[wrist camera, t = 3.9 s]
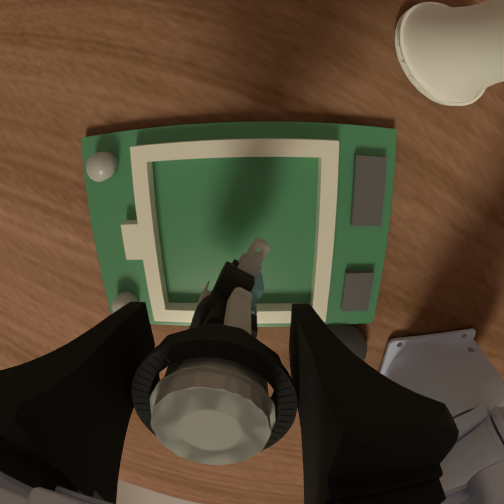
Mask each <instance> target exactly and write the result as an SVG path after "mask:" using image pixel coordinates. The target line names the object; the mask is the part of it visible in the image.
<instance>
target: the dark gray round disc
mask: <svg viewBox="0 0 504 504" xmlns="http://www.w3.org/2000/svg"><path fill="white" fill-rule="evenodd" d="M327 326H328V327H329V328H330V330H331V331H332V332H333V333H334V334H335V335H336V336H337V337H338V338H339V339H340V340H341V341H342V342H343V344H345V345H346V346H347V347H348V348H349V349H350V350H351V351H352V352H353V353H354V354H355V355H356V356H358V357H359V358H360V359H362V360H363V361H364V359H365V357H366V353H367V345H366V342H365V339H364V337H363V335H362V333H361V331H360V330H359V329H358V328H357V327H356V326H355V325H353V324H343V325H327Z"/></svg>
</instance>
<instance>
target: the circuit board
mask: <svg viewBox="0 0 504 504" xmlns="http://www.w3.org/2000/svg"><path fill="white" fill-rule="evenodd" d="M396 133H397V129H391V128H382V127H372V126H361V125H349V124H334V123H315V122H270V121H267V122H222V123H202V124H187V125H175V126H164V127H154V128H145V129H137V130H129V131H121V132H114V133H108V134H101V135H95V136H89V137H84V138H81V143H82V155H83V165H84V175H85V183H86V191H87V198H88V205H89V212H90V218H91V224H92V230H93V235H94V241H95V246H96V251H97V256H98V261H99V265H100V270H101V274H102V279H103V283H104V287H105V291H106V295H107V299H108V303H109V307H110V311H111V314H113V313H114V312H115V311H117V310H118V309H120V308H121V307H123V306H124V305H126V304H127V303H129V302H131V301H133V302H146V307H147V311H148V316H149V321H150V324H161V325H185V326H190V325H191V322H192V318H193V316H194V313H195V310H196V308H197V303H198V301H199V298H200V295H201V293H202V292H203V290H204V288H205V286H206V284H207V282H208V281H210V282H209V285H208V288H207V290H208V291H210V292H211V291H212V290H213V288H214V285H215V283H216V281H217V279H218V276H219V274H220V272H221V270H222V268H223V266H224V264H225V263H226V261H228V262H230V263H232V262H233V260H234V259H236V260H238V261H239V259H240V257H241V256H242V254H243V253H245V254H246V253H247V251H248V249H249V248H250V246H251V244H252V242H253V241H254V239H255V237H259V238H261V239H263V240H265V241H267V242H268V244H269V245H268V246H269V248H270V250H269V252H268V253H267V255H266V257H265V258H264V260H263V262H262V264H261V265H260V267H262V270H261V271H260V273H262V276H263V284H264V291H263V294H262V295H261V297H260V299H259V300H258V301H257V302H256V304H255V305H257V316H258V317H257V327H280V326H290V325H291V308H292V304H298V303H309V304H310V305H311V306H312V307H313V309H314V310H315V311H316V313H317V314H318V315H319V316H320V318H321V319H322V320H323V321H324V323H325V324H326V325H343V324H361V323H373V318H374V313H375V309H376V304H377V298H378V293H379V288H380V282H381V277H382V271H383V265H384V259H385V252H386V245H387V238H388V230H389V223H390V214H391V205H392V195H393V184H394V171H395V155H396ZM255 251H257V252H259V251H261V249H256V250H255Z"/></svg>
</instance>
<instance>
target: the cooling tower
mask: <svg viewBox="0 0 504 504" xmlns="http://www.w3.org/2000/svg"><path fill="white" fill-rule="evenodd" d="M437 5H438V6H437ZM394 40H395V49H396V54H397V57H398V60H399V63H400V65H401V67H402V69H403V71H404V73H405V74H406V76H407V77H408V79H409V80H410V82H411V83H412V84H413V85H414V86H415V87H416V88H417V89H418V90H419V91H420V92H421V93H422V94H423V95H425V96H426V97H427V98H429V99H431V100H433V101H435V102H437V103H439V104H443V105H448V106H464V105H468V104H471V103H473V102H475V101H476V100H478V99H479V98H480V97H481V95H482V94H483V93H484V91H485V89H486V88H487V87H489V86H491V85H493V84H495V83H498V82H502V81H504V0H489V1H486V2H483V3H480V4H476V5H472V6H465V7H449V6H447V5H445V4H441V3H437V2H423V3H419V4H417V5H415V6H413V7H412V8H410V9H409V10H407V11H406V12H405V13H404V14H403V15H402V16H401V17H400V19H399V21H398V23H397V25H396V29H395V36H394Z"/></svg>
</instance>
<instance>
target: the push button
mask: <svg viewBox="0 0 504 504" xmlns="http://www.w3.org/2000/svg"><path fill="white" fill-rule="evenodd" d="M268 245H269V244H268V242H267V241H265V240H263V239H261V238H259V237H255V239H254V241H253V242H252V244H251V246H250V248H249V249H248V251H247V253H246V254H245V253H243V254H242V256H241V257H240V259H239V261H238V260H236V259H234V260H233V262H232V263H230V262H228V261H226V263H225V264H224V266H223V268H222V270H221V272H220V274H219V276H218V279H217V281H216V283H215V285H214V288H213V290H212V291H211V292H210V291H208V290H207V288H208V285H209V282H210V281H208V282H207V284H206V286H205V288H204V290H203V292H202V293H201V295H200V298H199V301H198V303H197V308H196V310H195V313H194V316H193V318H192V322H191V325H190V328H189V329H188V330H185V331H181V332H177V333H174V334H170V335H168V336H167V337H166V338H165V339H164V340H163V341H162V342H161V343H160V345H159V346H157V347H155V348H154V349H153V350H152V351H150V352H149V353H148V354H147V355H146V356H145V357H144V359H143V360H142V362H141V363H140V365H139V367H138V369H137V371H136V373H135V375H134V378H133V381H132V387H131V394H132V401H133V404H134V407H135V410H136V412H137V414H138V416H139V418H140V419H141V420H142V422H143V423H144V424H145V426H146V427H147V428H148V429H149V430H150V431H151V432H152V433H153V434H154V435H156V436H157V438H158V440H159V441H160V442H161V443H162V444H163V445H164V446H165V447H166V448H168V449H170V450H171V451H172V452H173V453H175V454H176V455H178V456H181V457H183V458H185V459H187V460H191V461H194V462H197V463H203V464H211V465H227V464H232V463H237V462H243V461H246V460H247V459H249V458H250V457H252V456H254V455H255V454H257V453H258V452H260V451H262V450H264V449H266V448H268V447H270V446H272V445H273V444H275V443H276V442H277V441H279V440H280V439H281V438H282V437H283V436H284V435H285V434H286V433H287V432H288V430H289V429H290V427H291V426H292V424H293V422H294V419H295V417H296V412H297V395H296V390H295V386H294V383H293V381H292V378H291V376H290V375H289V373H288V371H287V370H286V369H285V367H284V366H283V365H282V363H281V360H280V358H279V356H278V354H277V353H275V352H274V351H272V350H271V349H270V348H268V347H267V346H265V345H264V344H263V343H261V342H260V341H259V340H257V339H256V337H257V331H258V327H257V317H258V316H257V305H255V304H256V302H257V301H258V300H259V299H260V297H261V295H262V294H263V291H264V284H263V276H262V273H260V271H261V270H262V267H260V265H261V264H262V262H263V260H264V258H265V257H266V255H267V253H268V252H269V250H270V248H269V246H268ZM256 249H261V251H259V252H257V251H255V250H256ZM167 366H168V368H167V371H166V374H165V376H164V378H163V379H161V380H160V378H159V372H160V371H162V370H163V369H164V368H166V367H167ZM267 381H268V383H269V384H270V385H271V386H272V388H273V389H274V392H273V394H272V396H271V398H270V397H269V395H268V386H267Z"/></svg>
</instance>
